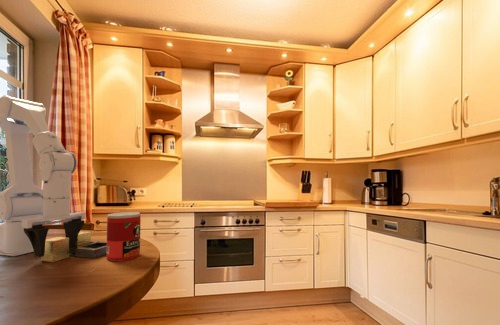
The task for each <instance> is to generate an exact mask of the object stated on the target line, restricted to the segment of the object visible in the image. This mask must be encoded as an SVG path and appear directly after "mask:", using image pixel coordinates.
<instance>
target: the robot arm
mask: <svg viewBox="0 0 500 325" xmlns="http://www.w3.org/2000/svg"><path fill="white" fill-rule="evenodd" d="M46 116H47V109H46V106H45V104H43V103H41V102H36V101H30V100H25V99H21V98H18V97H17V98H16V97H12V96H10V95H2V96H1V97H0V128H1V129H2V130H3V131H4V136H5V143H6V144H5V146H6V155H7V164H8V173H9V174H8V175H9V184H10V186H9V187H7V188H5V189H4V190H2V191H1V192H0V220H2V223H1V224H0V256H9V257H17V256H22V255H25V254H30V253H34V257H37V258H41V257H43V256H44V253H45V241H46V239H47V236H48V233H49V230H50V229H49V228H48V227H45V226H47V225H53V224H54V225H55V224H59V223H61V224H62V226H63V228H64V233H65V234H64V235H65V236H64V237H66V238H69V247H74V246H75V242H76V239H77V237H78V234H79V232H80V231H81V230H82V228H83V227H84V225H85V220H86V212H85V211H78V212H71V203H72V202H71V198H72V193H71V192H72V174H74V173H75V171H76V169H77V167H78V166H77V165H78V159H77V157H76V154H75V153H74V152H71V151H69V150H66V149H65V147H64V145H63V143H62V142H61V140H60V138H59V137H58V135H57V134H56V133H54V132H53V131H50V129H49V126H48V124H47V121H46ZM29 134H32V135H33V136H34V137H32V141H31V143H32V145H33V147H34V148H35V150H36V152H37V155H38V156H39V162H38V168H39V171H40V176H41V177H40V178H41V181H43V188H41V187H39V186H38V185H36V184H35V183H34V178H33V168H32V162H31V154H30V146H29V138H28V135H29Z"/></svg>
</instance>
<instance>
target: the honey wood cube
mask: <svg viewBox="0 0 500 325" xmlns="http://www.w3.org/2000/svg"><path fill="white" fill-rule="evenodd" d="M66 258H69V238H66V236H64V237H63V236H56V237H52V238H46V241H45V253H44V256H43V257H40V261H41V262H50V263H52V262H53V263H54V262H57V261H60V260H64V259H66Z"/></svg>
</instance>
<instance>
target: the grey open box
mask: <svg viewBox="0 0 500 325" xmlns="http://www.w3.org/2000/svg"><path fill="white" fill-rule="evenodd" d="M91 238H92V232H91V231H81V230H80V232H79V234H78V237H77V239H76V242H75V246H74V247H69V256H70V257H80V258H89V259H96V258H99V257H102V256H105V255H107V241H102V240H101V241H100V240H92V239H91ZM69 256H68V257H69Z"/></svg>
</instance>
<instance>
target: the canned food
mask: <svg viewBox="0 0 500 325" xmlns="http://www.w3.org/2000/svg"><path fill="white" fill-rule="evenodd" d="M141 221H142V220H141V212H139V211H137V212H136V211H122V212H121V211H120V212H114V213H108V214H107V220H106V242H107V254H106V257H107V260H108V261H111V262H123V261H124V262H125V261H129V260H130V261H131V260H133V259H136V258H137V257H139V256H140V253H141V223H142V222H141Z"/></svg>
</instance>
